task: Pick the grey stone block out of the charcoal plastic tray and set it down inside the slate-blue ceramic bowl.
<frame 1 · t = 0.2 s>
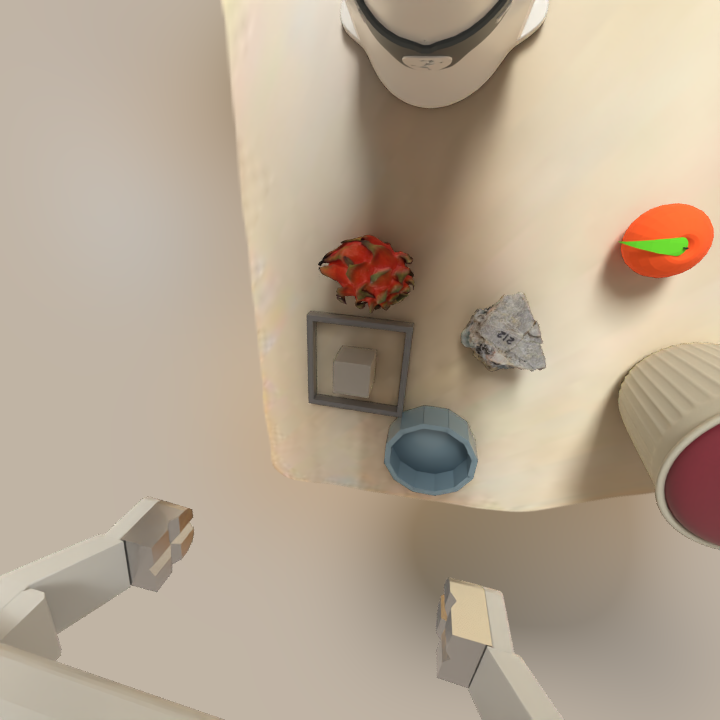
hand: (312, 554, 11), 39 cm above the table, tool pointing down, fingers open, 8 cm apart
bowl: (430, 441, 56), on the table
mineral specimen: (499, 327, 46), on the table
tray: (358, 363, 52), on the table
clementine: (640, 236, 39), on the table
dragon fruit: (371, 267, 46), on the table
canister: (672, 384, 45), on the table
pebble block: (358, 363, 52), resting in tray
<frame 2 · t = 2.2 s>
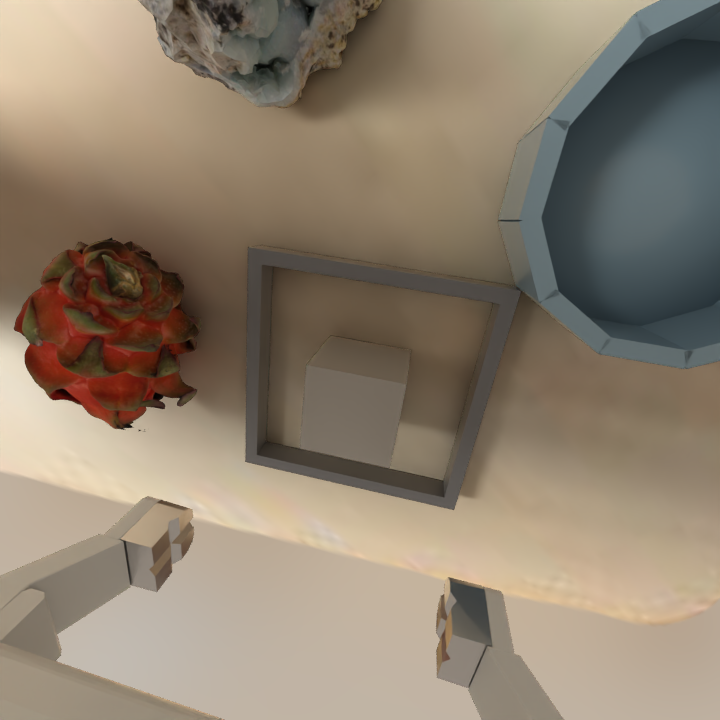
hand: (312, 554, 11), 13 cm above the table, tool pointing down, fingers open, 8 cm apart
bowl: (648, 201, 17), on the table
tray: (364, 379, 23), on the table
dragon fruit: (164, 324, 24), on the table
pebble block: (365, 378, 23), resting in tray
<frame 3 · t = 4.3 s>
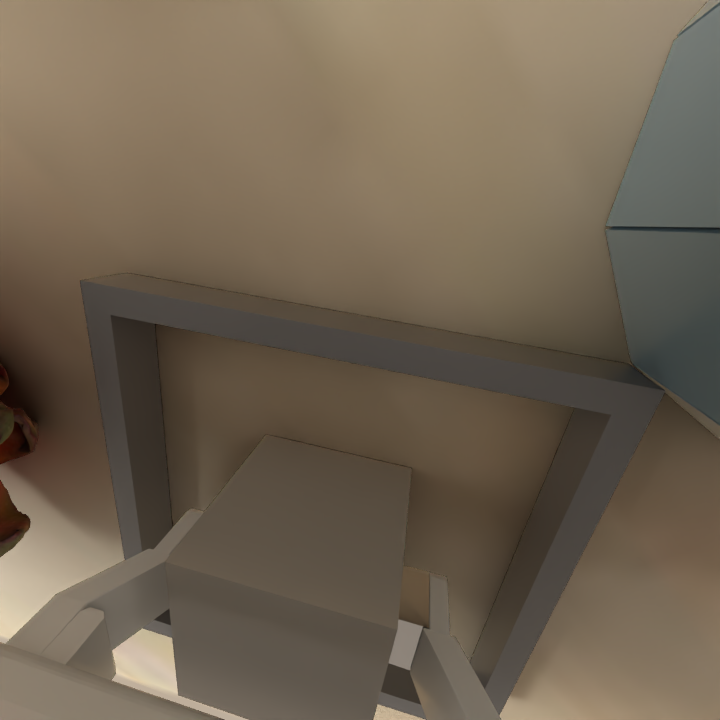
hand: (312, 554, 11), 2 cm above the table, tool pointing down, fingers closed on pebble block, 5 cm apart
tray: (329, 509, 13), on the table
pebble block: (329, 508, 13), resting in tray, touching gripper
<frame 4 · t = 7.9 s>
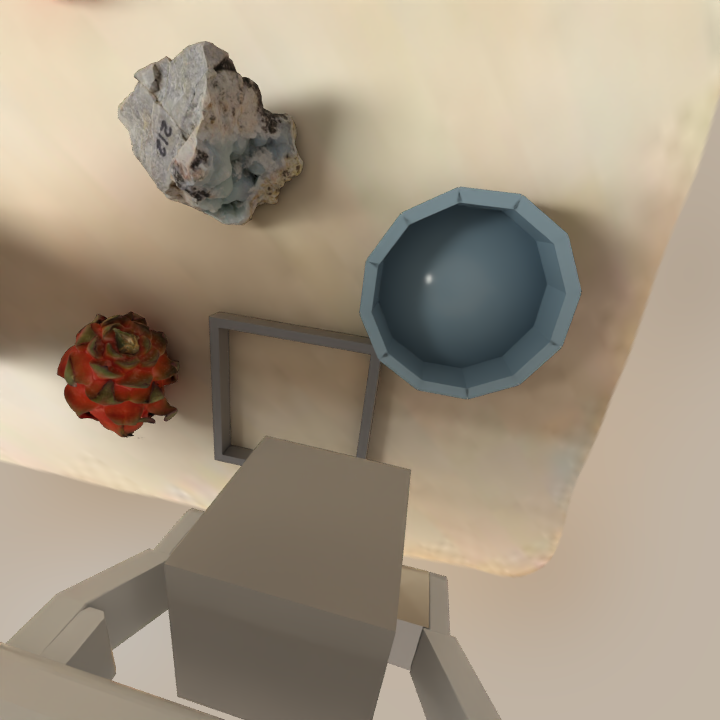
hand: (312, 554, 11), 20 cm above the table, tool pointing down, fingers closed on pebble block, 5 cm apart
bowl: (457, 290, 27), on the table
mineral specimen: (231, 154, 26), on the table
tray: (295, 401, 33), on the table
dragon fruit: (156, 362, 34), on the table
pebble block: (328, 509, 13), point 18 cm above the table, touching gripper
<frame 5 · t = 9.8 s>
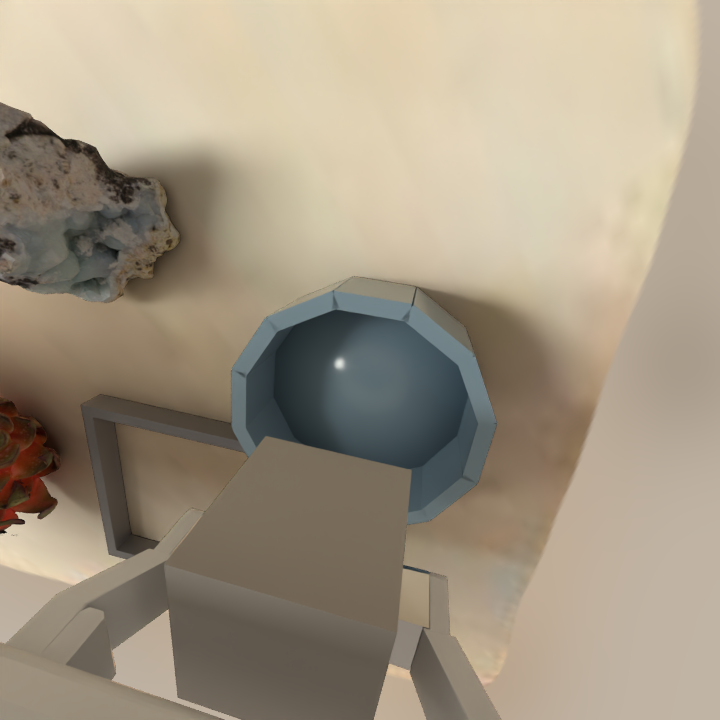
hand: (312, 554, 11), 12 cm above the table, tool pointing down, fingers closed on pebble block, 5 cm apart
bowl: (368, 387, 22), on the table
mineral specimen: (99, 215, 21), on the table
tray: (195, 494, 28), on the table
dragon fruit: (40, 442, 29), on the table
pebble block: (329, 509, 13), point 10 cm above the table, touching gripper
when the fingers open (5 cm above the table, at t = 11.7 s): pebble block drops 2 cm, resting on bowl.
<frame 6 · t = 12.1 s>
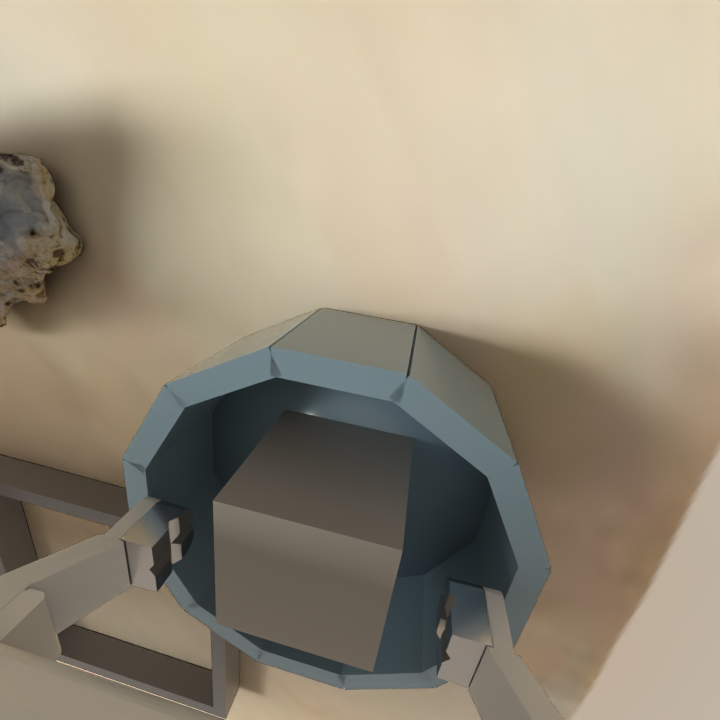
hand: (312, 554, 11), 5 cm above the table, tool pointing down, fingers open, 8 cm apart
bowl: (346, 463, 15), on the table
tray: (127, 580, 21), on the table
pebble block: (340, 475, 15), point 1 cm above the table, touching bowl
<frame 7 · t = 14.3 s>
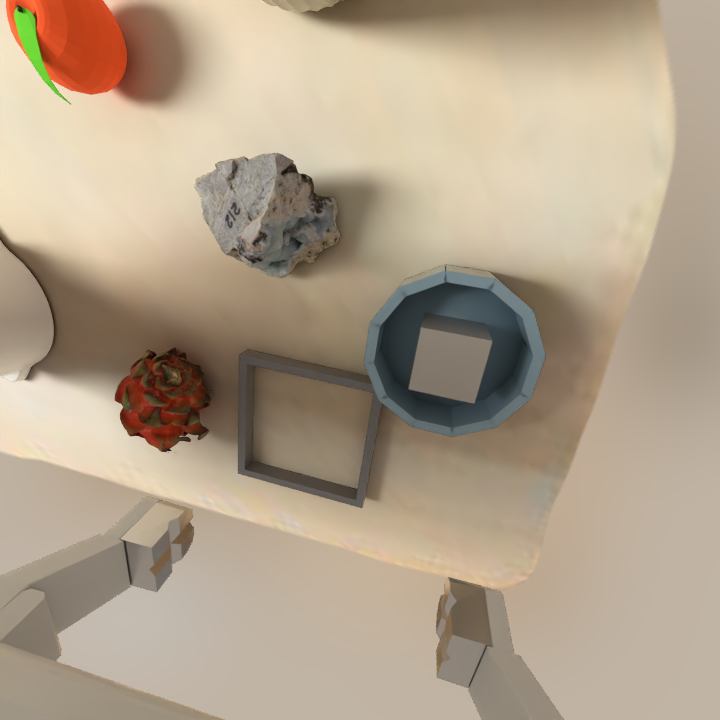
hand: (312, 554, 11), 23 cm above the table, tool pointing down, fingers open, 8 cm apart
bowl: (448, 342, 31), on the table
mineral specimen: (280, 217, 31), on the table
tray: (308, 426, 38), on the table
clementine: (114, 65, 30), on the table
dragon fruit: (191, 388, 40), on the table
pebble block: (447, 345, 31), point 1 cm above the table, touching bowl
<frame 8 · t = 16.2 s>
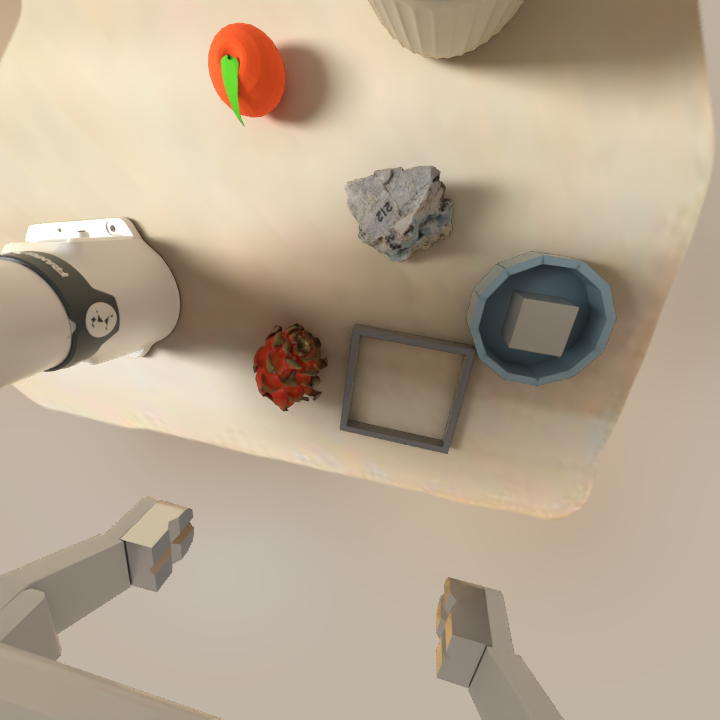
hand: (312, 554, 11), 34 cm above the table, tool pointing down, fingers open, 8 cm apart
bowl: (529, 313, 40), on the table
mineral specimen: (400, 213, 39), on the table
tray: (403, 387, 46), on the table
clementine: (264, 92, 37), on the table
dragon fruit: (300, 359, 47), on the table
pebble block: (530, 315, 39), point 1 cm above the table, touching bowl
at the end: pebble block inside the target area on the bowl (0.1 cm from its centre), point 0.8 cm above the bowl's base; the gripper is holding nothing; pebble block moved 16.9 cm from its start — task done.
